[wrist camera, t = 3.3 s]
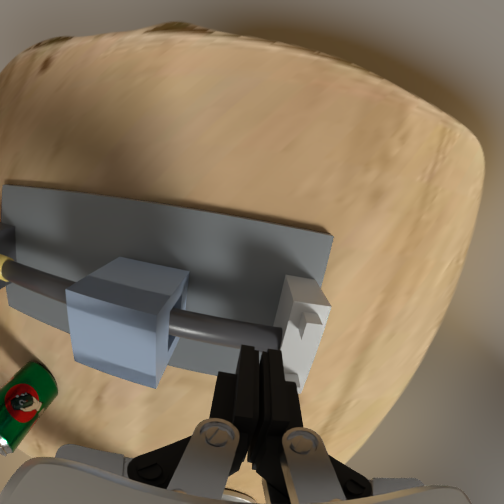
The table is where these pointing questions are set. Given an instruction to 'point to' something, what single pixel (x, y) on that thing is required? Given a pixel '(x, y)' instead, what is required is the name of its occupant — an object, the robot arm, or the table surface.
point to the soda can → (24, 403)
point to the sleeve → (126, 318)
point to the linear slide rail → (180, 257)
